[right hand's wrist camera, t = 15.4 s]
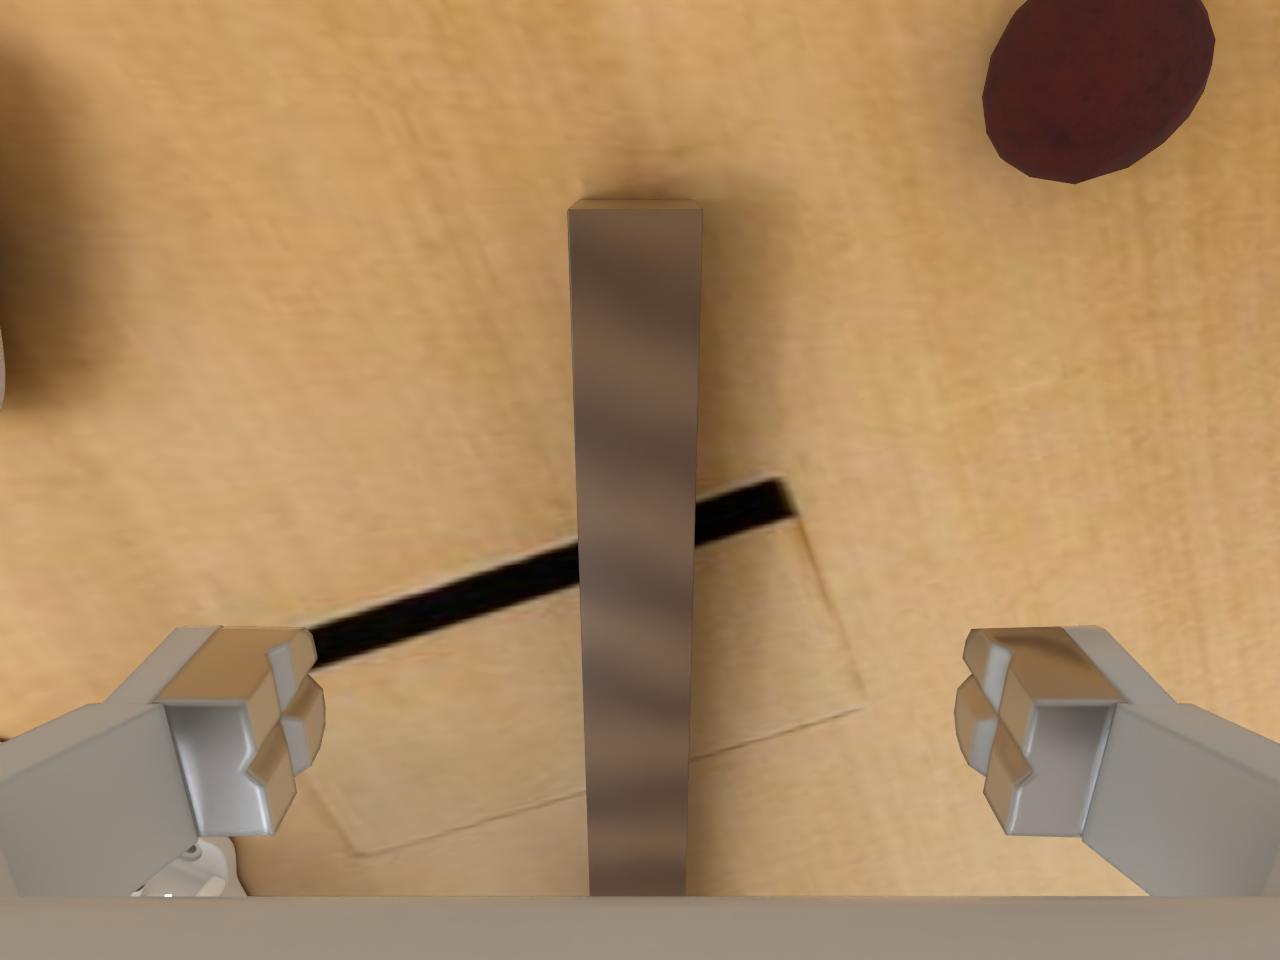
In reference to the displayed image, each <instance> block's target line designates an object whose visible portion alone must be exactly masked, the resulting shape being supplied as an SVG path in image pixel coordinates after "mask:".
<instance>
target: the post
mask: <svg viewBox="0 0 1280 960" xmlns="http://www.w3.org/2000/svg"><path fill="white" fill-rule="evenodd" d="M567 214H568V244H569V275H570V305H571V336H572V366H573V397H574V427H575V458H576V488H577V519H578V549H579V580H580V610H581V641H582V671H583V702H584V732H585V763H586V793H587V824H588V854H589V885H590V896H685V888H686V849H687V810H688V771H689V732H690V693H691V653H692V614H693V575H694V536H695V497H696V458H697V419H698V379H699V340H700V301H701V262H702V223H703V210H702V209H701V208H700V207H699V206H698V205H697V204H696V203H695V202H694V201H693V200H692V199H579V200H578V201H577V202H576V203H575V204H574V205H573V206H571V207H570V208H569V209H568V211H567Z"/></svg>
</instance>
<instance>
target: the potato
mask: <svg viewBox="0 0 1280 960" xmlns="http://www.w3.org/2000/svg"><path fill="white" fill-rule="evenodd" d="M1214 45H1215V37H1214V34H1213V31H1212V28H1211V24H1210V21H1209V17H1208V12H1207V10H1206V8H1205V7H1204V5H1203V3H1202V1H1201V0H1027V1H1026V2H1025V3H1024V4H1023V5H1022V6H1021V7H1020V8H1019V9H1018V10H1017V11H1016V12H1015V14H1014V15H1013V17H1012V18H1011V20H1010V22H1009V23H1008V25H1007V27H1006V29H1005V31H1004V33H1003V35H1002V37H1001V38H1000V40H999V42H998V44H997V46H996V48H995V50H994V52H993V53H992V55H991V59H990V63H989V68H988V73H987V77H986V82H985V87H984V91H983V96H982V99H983V108H984V116H985V124H986V133H987V135H988V136H989V138H990V140H991V142H992V144H993V145H994V147H995V149H996V151H997V153H998V154H999V156H1000V158H1002V159H1003V160H1004V161H1006V162H1007V163H1009V164H1010V165H1012V166H1013V167H1015V168H1017V169H1018V170H1020V171H1021V172H1023V173H1025V174H1026V175H1028V176H1029V177H1034V178H1040V179H1046V180H1052V181H1059V182H1065V183H1071V184H1077V183H1080V182H1083V181H1086V180H1089V179H1092V178H1095V177H1099V176H1102V175H1105V174H1108V173H1112V172H1115V171H1118V170H1122V169H1125V168H1128V167H1130V166H1131V165H1133V164H1134V163H1135V162H1137V161H1138V160H1140V159H1141V158H1143V157H1144V156H1146V155H1147V154H1148V153H1150V152H1151V151H1153V150H1154V149H1156V148H1157V147H1158V146H1160V145H1161V144H1163V143H1164V142H1165V141H1166V140H1167V139H1168V138H1169V137H1170V136H1171V135H1172V134H1173V133H1174V132H1175V131H1176V130H1177V129H1178V127H1179V126H1180V125H1181V124H1182V123H1183V122H1184V121H1185V120H1186V119H1187V118H1188V117H1189V116H1190V114H1191V112H1192V110H1193V109H1194V107H1195V105H1196V104H1197V102H1198V100H1199V99H1200V97H1201V95H1202V93H1203V92H1204V89H1205V86H1206V83H1207V79H1208V76H1209V73H1210V69H1211V66H1212V60H1213V52H1214Z"/></svg>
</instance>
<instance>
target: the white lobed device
mask: <svg viewBox="0 0 1280 960" xmlns="http://www.w3.org/2000/svg"><path fill="white" fill-rule="evenodd" d="M4 393H5V361H4V350H3V343H2V335H1V328H0V410H1V407H2V404H3V400H4Z"/></svg>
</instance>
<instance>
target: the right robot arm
mask: <svg viewBox="0 0 1280 960" xmlns="http://www.w3.org/2000/svg"><path fill="white" fill-rule="evenodd" d="M316 660H317V654H316V649H315V644H314V640H313V635H312V634H311V633H310V632H309V631H308V630H307V629H306V628H303V627H252V626H226V627H224V626H221V625H217V626H185V627H180V628H176V629H175V630H174V631H173V632H172V633H171V634H170V635H169V636H168V637H167V638H166V639H165V640H164V641H163V642H162V643H161V644H160V645H159V646H158V647H157V648H156V649H155V650H154V651H153V652H152V653H151V654H150V656H149V657H148V658H147V659H146V660H145V661H144V662H143V663H142V664H141V665H140V666H139V667H138V668H137V669H136V670H135V671H134V672H133V673H132V674H131V675H130V676H129V677H128V678H127V679H126V680H125V681H124V682H123V683H122V684H121V685H120V686H119V687H118V688H117V689H116V690H115V691H114V692H113V693H112V694H111V695H110V696H109V697H108V698H107V700H106V701H105V702H104V703H103V704H87V705H85V706H83V707H80V708H78V709H76V710H74V711H72V712H69V713H67V714H65V715H63V716H61V717H58V718H56V719H54V720H52V721H50V722H47V723H45V724H43V725H41V726H39V727H36V728H34V729H32V730H30V731H28V732H25V733H23V734H21V735H19V736H17V737H14V738H12V739H10V740H8V741H6V742H0V960H1280V744H1279V743H1276V742H1274V741H1272V740H1270V739H1268V738H1265V737H1263V736H1261V735H1259V734H1257V733H1254V732H1252V731H1250V730H1248V729H1246V728H1243V727H1241V726H1239V725H1237V724H1235V723H1232V722H1230V721H1228V720H1226V719H1224V718H1221V717H1219V716H1217V715H1215V714H1213V713H1210V712H1208V711H1206V710H1204V709H1202V708H1200V707H1197V706H1195V705H1193V704H1177V703H1176V702H1175V700H1174V699H1173V698H1172V697H1171V696H1170V695H1169V694H1168V693H1167V692H1166V691H1165V690H1164V689H1163V688H1162V687H1161V686H1160V685H1159V684H1158V683H1157V682H1156V681H1155V680H1154V679H1153V678H1152V677H1151V676H1150V675H1149V674H1148V673H1147V672H1146V671H1145V670H1144V669H1143V668H1142V667H1141V666H1140V665H1139V664H1138V663H1137V661H1136V660H1135V659H1134V658H1133V657H1132V656H1131V655H1130V654H1129V653H1128V652H1127V651H1126V650H1125V649H1124V648H1123V647H1122V646H1121V645H1120V644H1119V643H1118V642H1117V641H1116V640H1115V639H1114V638H1113V637H1112V636H1111V635H1110V634H1109V633H1108V632H1107V631H1106V630H1105V629H1103V628H1100V627H1098V626H1095V625H1084V626H1058V627H1025V628H985V629H971V631H970V633H969V635H968V637H967V639H966V642H965V648H964V653H963V660H964V661H965V663H966V665H967V666H968V668H969V669H970V671H971V673H972V674H971V675H970V676H969V677H968V678H967V679H966V680H965V681H964V682H963V683H962V684H961V686H960V687H959V688H958V689H957V695H956V703H955V710H954V715H955V726H956V735H957V739H958V742H959V745H960V749H961V751H962V753H963V755H964V757H965V759H966V761H967V763H968V765H969V766H970V767H972V768H973V769H975V770H976V771H978V772H979V773H981V774H982V775H984V776H985V777H986V779H985V785H984V790H983V793H984V795H985V797H986V799H987V801H988V803H989V805H990V806H991V808H992V810H993V812H994V814H995V816H996V817H997V819H998V821H999V823H1000V825H1001V827H1002V829H1003V830H1004V832H1005V834H1006V835H1011V836H1047V837H1082V842H1084V843H1085V844H1086V845H1087V846H1089V847H1090V848H1091V849H1092V850H1094V851H1095V852H1096V853H1097V854H1099V855H1100V856H1101V857H1102V858H1104V859H1105V860H1106V861H1108V862H1109V863H1110V864H1111V865H1113V866H1114V867H1115V868H1116V869H1118V870H1119V871H1120V872H1121V873H1123V874H1124V875H1125V876H1126V877H1128V878H1129V879H1130V880H1131V881H1133V882H1134V883H1135V884H1136V885H1138V886H1139V887H1140V888H1141V889H1143V890H1144V891H1145V892H1146V893H1148V894H1149V895H1150V896H247V895H246V893H245V891H244V889H243V888H242V886H241V884H240V882H239V880H238V877H237V866H236V852H235V847H234V845H233V843H232V841H231V840H230V838H229V837H232V836H267V835H274V834H275V832H276V831H277V829H278V827H279V825H280V823H281V821H282V819H283V818H284V816H285V814H286V812H287V810H288V808H289V806H290V805H291V803H292V801H293V799H294V797H295V795H296V793H297V790H296V785H295V779H294V777H295V776H296V775H298V774H299V773H301V772H302V771H304V770H305V769H307V768H308V767H310V766H311V765H312V763H313V761H314V759H315V757H316V755H317V753H318V751H319V749H320V746H321V741H322V737H323V732H324V728H325V701H324V694H323V689H322V688H321V687H320V686H319V684H318V683H317V682H316V681H315V680H314V679H313V678H312V677H311V676H310V675H309V674H308V673H309V671H310V669H311V668H312V666H313V665H314V663H315V661H316Z"/></svg>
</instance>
